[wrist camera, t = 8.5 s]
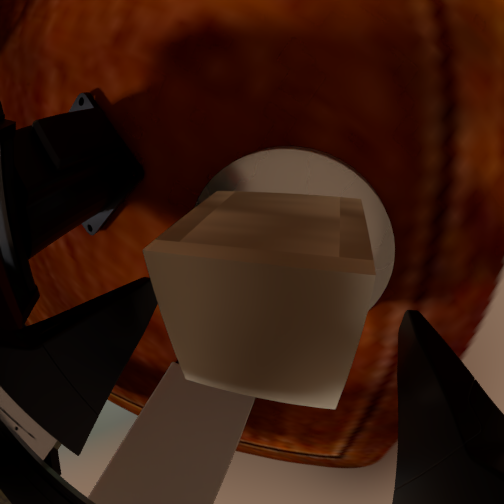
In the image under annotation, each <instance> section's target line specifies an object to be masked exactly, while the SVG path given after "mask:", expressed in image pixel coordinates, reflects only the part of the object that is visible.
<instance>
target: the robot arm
mask: <svg viewBox="0 0 504 504" xmlns="http://www.w3.org/2000/svg"><path fill="white" fill-rule="evenodd" d="M133 171H134V173H135V176H134V175H133ZM143 177H144V171H143V169H142V167H141V165H140V164H139V162H138V161H137V160H136V158H135V157H134V156H133V154H132V153H131V151H130V150H129V149H128V147H127V146H126V144H125V143H124V142H123V140H122V139H121V137H120V136H119V135H118V133H117V132H116V130H115V129H114V127H113V126H112V125H111V123H110V122H109V120H108V119H107V117H106V116H105V114H104V113H103V112H102V110H101V109H100V107H99V106H98V104H97V103H96V101H95V100H94V98H93V97H92V95H91V94H90V93H88V92H86V93H81V94H79V95H78V97H77V98H76V100H75V102H74V104H73V105H72V107H71V109H70V111H69V112H68V113H63V114H59V115H55V116H50V117H46V118H42V119H38V120H36V121H34V122H33V124H32V125H31V126H27V127H24V128H21V129H18V130H16V122H15V121H10V120H6V119H5V114H4V113H3V109H2V105H1V101H0V490H1V491H2V492H3V493H4V495H5V496H6V497H7V499H8V500H9V501H10V502H11V503H12V504H95V503H94V502H93V501H91V500H90V499H88V498H87V497H86V496H84V495H83V494H82V493H80V492H79V491H78V490H77V489H75V488H74V487H73V486H71V485H70V484H69V483H68V482H67V481H65V480H64V479H63V478H62V477H61V476H60V475H61V469H60V463H59V456H58V450H57V449H56V448H55V447H54V445H55V443H56V442H57V441H59V442H60V443H61V444H63V445H64V446H65V447H66V448H68V449H69V450H71V451H72V452H73V453H75V454H76V455H77V456H79V454H80V453H81V451H82V449H83V447H84V445H85V443H86V441H87V438H88V436H89V434H90V432H91V430H92V428H93V426H94V424H95V422H96V420H97V418H98V416H99V414H100V412H101V410H102V408H103V406H104V404H105V402H106V400H107V399H108V397H109V395H110V393H111V391H112V389H113V387H114V386H115V384H116V382H117V380H118V378H119V376H120V375H121V373H122V371H123V369H124V367H125V365H126V364H127V362H128V360H129V358H130V357H131V355H132V353H133V351H134V349H135V348H136V346H137V344H138V343H139V341H140V339H141V337H142V336H143V334H144V332H145V330H146V328H147V326H148V323H149V321H150V319H151V317H152V315H153V312H154V310H155V308H156V306H157V304H158V302H157V299H156V296H155V292H154V289H153V286H152V282H151V279H150V278H148V277H143V278H140V279H138V280H136V281H133V282H131V283H129V284H126V285H124V286H122V287H119V288H117V289H115V290H112V291H110V292H108V293H105V294H103V295H101V296H98V297H96V298H94V299H92V300H89V301H87V302H85V303H83V304H80V305H78V306H76V307H73V308H71V309H70V310H67V311H64V312H62V313H60V314H58V315H55V316H53V317H50V318H48V319H45V320H43V321H40V322H38V323H35V324H32V325H30V326H27V327H24V328H23V326H24V324H25V322H26V320H27V318H28V316H29V315H30V313H31V311H32V309H33V307H34V306H35V304H36V302H37V300H38V299H39V297H40V294H39V291H38V287H37V286H36V285H35V283H34V279H33V276H32V272H31V268H30V265H29V261H28V260H29V259H30V258H31V257H33V256H34V255H35V254H37V253H38V252H40V251H41V250H43V249H44V248H45V247H47V246H48V245H50V244H51V243H53V242H54V241H56V240H57V239H59V238H60V237H62V236H63V235H65V234H66V233H68V232H69V231H71V230H72V229H74V228H75V227H77V226H79V225H80V224H82V225H83V226H84V228H85V229H86V231H87V232H88V233H89V234H90V235H94V234H95V233H97V232H98V231H99V230H100V229H101V228H102V226H103V225H104V224H105V223H106V221H107V220H108V219H109V218H110V216H111V215H112V214H113V213H114V211H115V210H116V209H117V208H118V207H119V205H120V204H121V203H122V202H123V201H124V200H125V198H126V197H127V196H128V195H129V194H130V193H131V192H132V190H133V189H134V188H135V187H136V186H137V185H138V184H139V183H140V182H141V180H142V179H143ZM397 384H398V453H397V454H398V455H397V468H396V479H395V490H394V496H393V503H392V504H504V414H503V413H502V412H501V411H500V410H499V408H498V407H497V406H496V405H495V404H494V403H493V401H492V400H491V399H490V398H489V397H488V395H487V394H486V393H485V391H484V390H483V388H482V387H481V386H480V384H479V383H478V382H477V380H474V377H473V375H472V374H471V373H470V371H469V370H468V369H467V368H466V367H465V366H464V364H463V363H462V361H461V360H460V359H459V358H458V356H457V355H456V354H455V353H454V351H453V350H452V349H451V348H450V347H449V345H448V344H447V343H446V342H445V341H444V339H443V338H442V337H441V336H440V335H439V334H438V332H437V331H436V330H435V329H434V328H433V327H432V326H431V324H430V323H429V322H428V321H427V320H426V319H425V318H424V317H423V315H422V314H421V313H420V312H419V311H417V310H407V311H406V312H405V314H404V317H403V320H402V323H401V325H400V328H399V332H398V365H397Z"/></svg>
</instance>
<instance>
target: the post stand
mask: <svg viewBox="0 0 504 504" xmlns="http://www.w3.org/2000/svg"><path fill="white" fill-rule="evenodd" d="M216 191H243V192H271V193H291V194H307V195H321V196H334V197H346V198H357V199H361V201H362V205H363V209H364V214H365V218H366V223H367V228H368V233H369V238H370V243H371V248H372V254H373V260H374V266H375V272H376V278H375V282H374V287H373V291H372V295H371V299H370V303H369V307H368V310H369V309H370V308H371V307H372V306H373V305H374V304H375V303H376V302H377V301H378V299H379V298H380V297H381V295H382V294H383V292H384V290H385V288H386V286H387V284H388V282H389V279H390V277H391V274H392V270H393V265H394V258H395V243H394V234H393V230H392V226H391V222H390V220H389V217H388V215H387V213H386V210H385V208H384V206H383V203H382V201H381V199H380V198H379V196H378V194H377V193H376V191H375V190H374V188H373V187H372V186H371V185H370V183H369V182H368V181H367V180H366V179H365V178H364V177H363V176H362V175H361V174H360V173H359V172H358V171H356V170H355V169H354V168H353V167H351V166H350V165H348V164H347V163H345V162H344V161H342V160H341V159H339V158H337V157H334V156H332V155H330V154H328V153H325V152H322V151H319V150H315V149H312V148H306V147H299V146H278V147H271V148H266V149H262V150H259V151H255V152H253V153H250V154H248V155H246V156H244V157H242V158H240V159H238V160H236V161H234V162H233V163H231V164H230V165H228V166H227V167H225V168H223V169H222V170H221V171H220V172H219V173H218V174H216V175H215V176H214V177H213V178H212V179H211V180H210V182H209V183H208V184H207V185H206V187H205V188H204V189H203V191H202V193H201V194H200V196H199V198H198V200H197V202H196V205H195V207H197V206H198V205H199V204H200V203H202V202H203V201H204V200H206V199H207V198H208V197H210V196H211V195H212V194H214V193H215V192H216ZM195 207H194V208H195Z"/></svg>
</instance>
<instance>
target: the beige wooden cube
mask: <svg viewBox="0 0 504 504" xmlns="http://www.w3.org/2000/svg"><path fill="white" fill-rule="evenodd" d="M143 254H144V257H145V261H146V265H147V268H148V272H149V275H150V279H151V282H152V286H153V289H154V292H155V296H156V299H157V302H158V305H159V308H160V311H161V314H162V317H163V320H164V323H165V326H166V329H167V332H168V335H169V337H170V340H171V343H172V346H173V348H174V351H175V354H176V356H177V359H178V361H179V364H180V367H181V369H182V372H183V374H184V377H185V379H187V380H190V381H193V382H197V383H200V384H204V385H207V386H211V387H215V388H218V389H222V390H226V391H230V392H234V393H239V394H243V395H247V396H252V397H257V398H262V399H267V400H272V401H277V402H283V403H289V404H295V405H302V406H309V407H317V408H326V409H336V406H337V404H338V401H339V399H340V396H341V393H342V391H343V388H344V385H345V383H346V380H347V377H348V374H349V371H350V368H351V365H352V362H353V359H354V356H355V353H356V350H357V347H358V343H359V340H360V337H361V333H362V330H363V326H364V323H365V319H366V315H367V311H368V307H369V303H370V299H371V295H372V291H373V287H374V282H375V278H376V272H375V266H374V260H373V254H372V248H371V243H370V238H369V233H368V228H367V223H366V218H365V214H364V209H363V205H362V201H361V199H357V198H346V197H334V196H321V195H307V194H291V193H271V192H243V191H216V192H215V193H214V194H212V195H211V196H210V197H208V198H207V199H206V200H204V201H203V202H202V203H200V204H199V205H198V206H197V207H195V208H194V209H193V210H191V211H190V212H189V213H188V214H186V215H185V216H184V217H182V218H181V219H180V220H179V221H177V222H176V223H175V224H174V225H172V226H171V227H170V228H169V229H167V230H166V231H165V232H164V233H162V234H161V235H160V236H159V237H158V238H156V239H155V240H154V241H153V242H152V243H150V244H149V245H148V246H147V247H146V248H144V249H143Z"/></svg>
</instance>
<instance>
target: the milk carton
mask: <svg viewBox="0 0 504 504" xmlns="http://www.w3.org/2000/svg"><path fill="white" fill-rule="evenodd" d="M254 400H255V397H252V396H247V395H243V394H239V393H234V392H230V391H226V390H222V389H218V388H215V387H211V386H207V385H204V384H200V383H197V382H193V381H190V380H187V379H185V377H184V374H183V372H182V369H181V367H180V364H177V363H175V362H172V363H171V365H170V367H169V368H168V370H167V371H166V373H165V374H164V376H163V378H162V379H161V381H160V382H159V384H158V386H157V387H156V389H155V390H154V392H153V393H152V395H151V397H150V398H149V400H148V401H147V403H146V405H145V406H144V408H143V409H142V411H141V413H140V414H139V416H138V417H137V419H136V421H135V422H134V424H133V425H132V427H131V428H130V430H129V432H128V433H127V435H126V436H125V438H124V440H123V441H122V443H121V445H120V446H119V448H118V449H117V451H116V453H115V454H114V456H113V457H112V459H111V461H110V462H109V464H108V465H107V467H106V469H105V470H104V472H103V474H102V475H101V477H100V478H99V480H98V482H97V483H96V485H95V487H94V488H93V490H92V492H91V493H90V495H89V496H88V499H90V500H91V501H93V502H94V503H95V504H213V503H214V501H215V498H216V496H217V494H218V491H219V489H220V486H221V484H222V482H223V479H224V477H225V475H226V473H227V470H228V468H229V465H230V463H231V460H232V458H233V455H234V453H235V450H236V448H237V445H238V443H239V440H240V438H241V435H242V432H243V430H244V427H245V424H246V422H247V419H248V416H249V414H250V411H251V408H252V406H253V403H254Z"/></svg>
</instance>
